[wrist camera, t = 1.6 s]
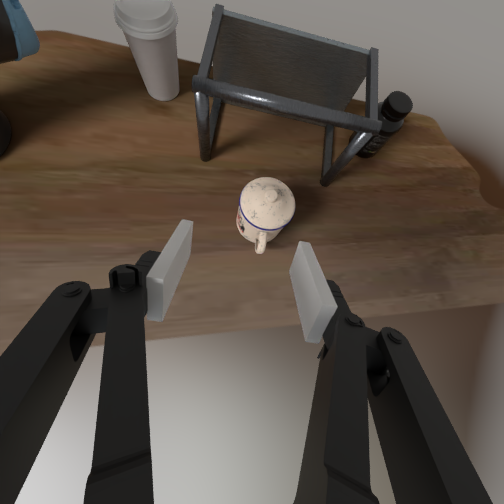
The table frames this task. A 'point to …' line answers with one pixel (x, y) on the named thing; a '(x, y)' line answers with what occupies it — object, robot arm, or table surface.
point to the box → (285, 81)
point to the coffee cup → (152, 43)
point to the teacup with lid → (264, 210)
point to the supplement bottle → (386, 122)
